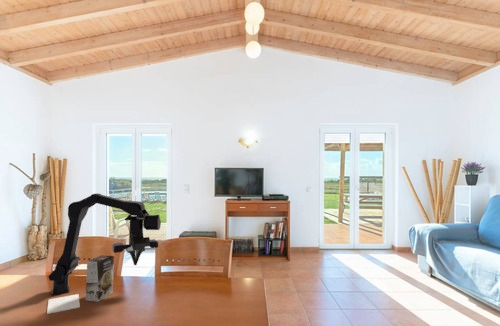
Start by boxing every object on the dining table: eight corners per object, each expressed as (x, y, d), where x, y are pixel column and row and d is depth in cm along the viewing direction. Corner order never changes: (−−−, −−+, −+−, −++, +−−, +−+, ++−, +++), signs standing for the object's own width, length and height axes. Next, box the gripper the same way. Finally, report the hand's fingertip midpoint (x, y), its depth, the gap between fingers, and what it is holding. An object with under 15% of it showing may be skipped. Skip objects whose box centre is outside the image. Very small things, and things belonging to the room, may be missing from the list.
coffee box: (98, 302, 117) (99, 261, 118) (84, 300, 118) (86, 260, 119) (113, 293, 126) (114, 255, 126) (100, 291, 127) (101, 254, 128)
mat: (48, 300, 118) (48, 299, 118) (78, 294, 124) (78, 294, 124) (46, 314, 106) (46, 313, 106) (79, 307, 112) (79, 306, 112)
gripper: (116, 235, 119) (115, 273, 118) (162, 231, 129) (161, 266, 128) (112, 230, 128) (111, 266, 128) (155, 227, 138) (154, 260, 138)
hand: (135, 265), depth 130 cm, fingers closed
